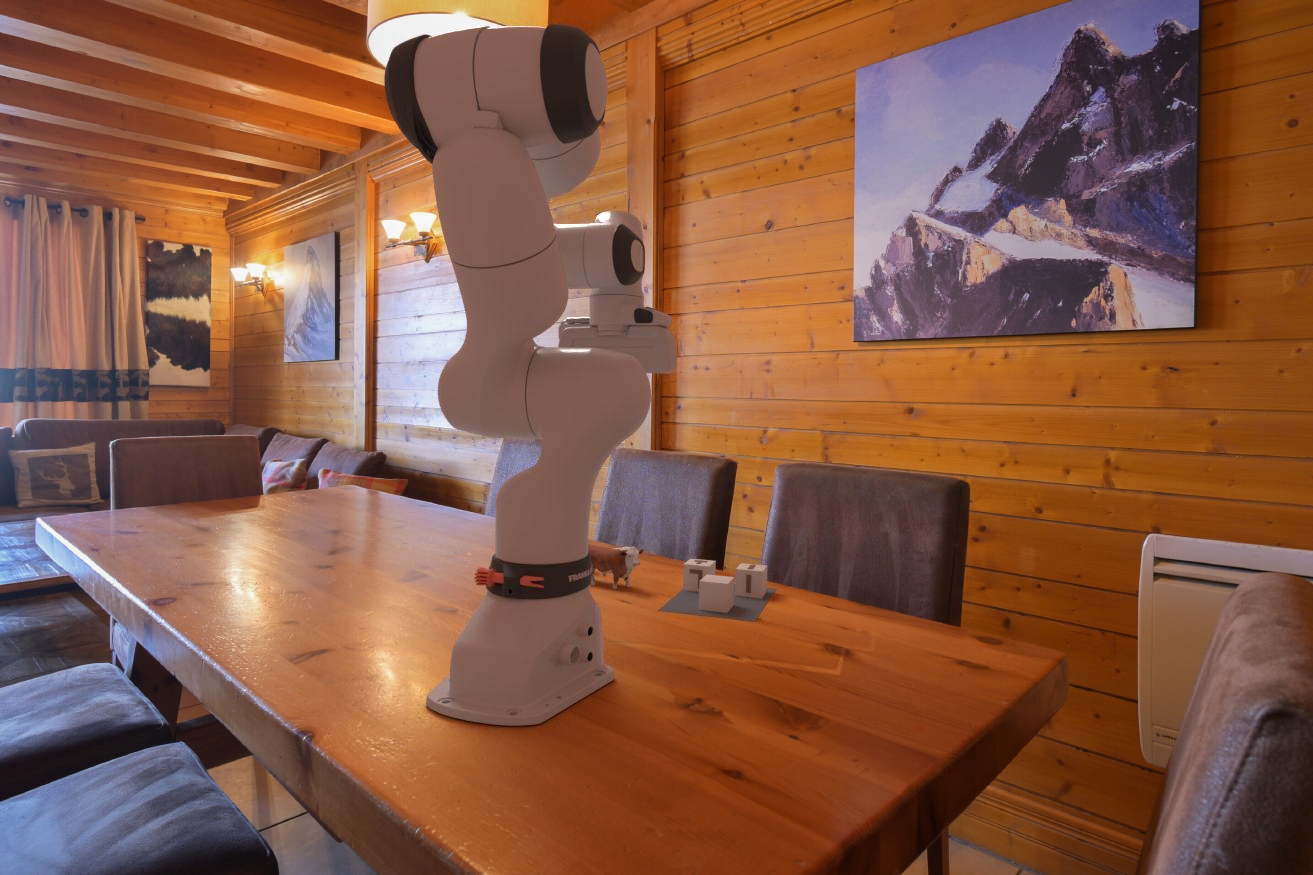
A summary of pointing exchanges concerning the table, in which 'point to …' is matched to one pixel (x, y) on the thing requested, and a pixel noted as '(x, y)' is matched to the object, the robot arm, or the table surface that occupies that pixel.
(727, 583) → the plain block
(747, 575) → the digit block 1
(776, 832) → the table surface
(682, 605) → the mat
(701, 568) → the digit block 7
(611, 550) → the bull figurine
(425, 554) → the table surface
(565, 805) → the table surface
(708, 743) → the table surface
